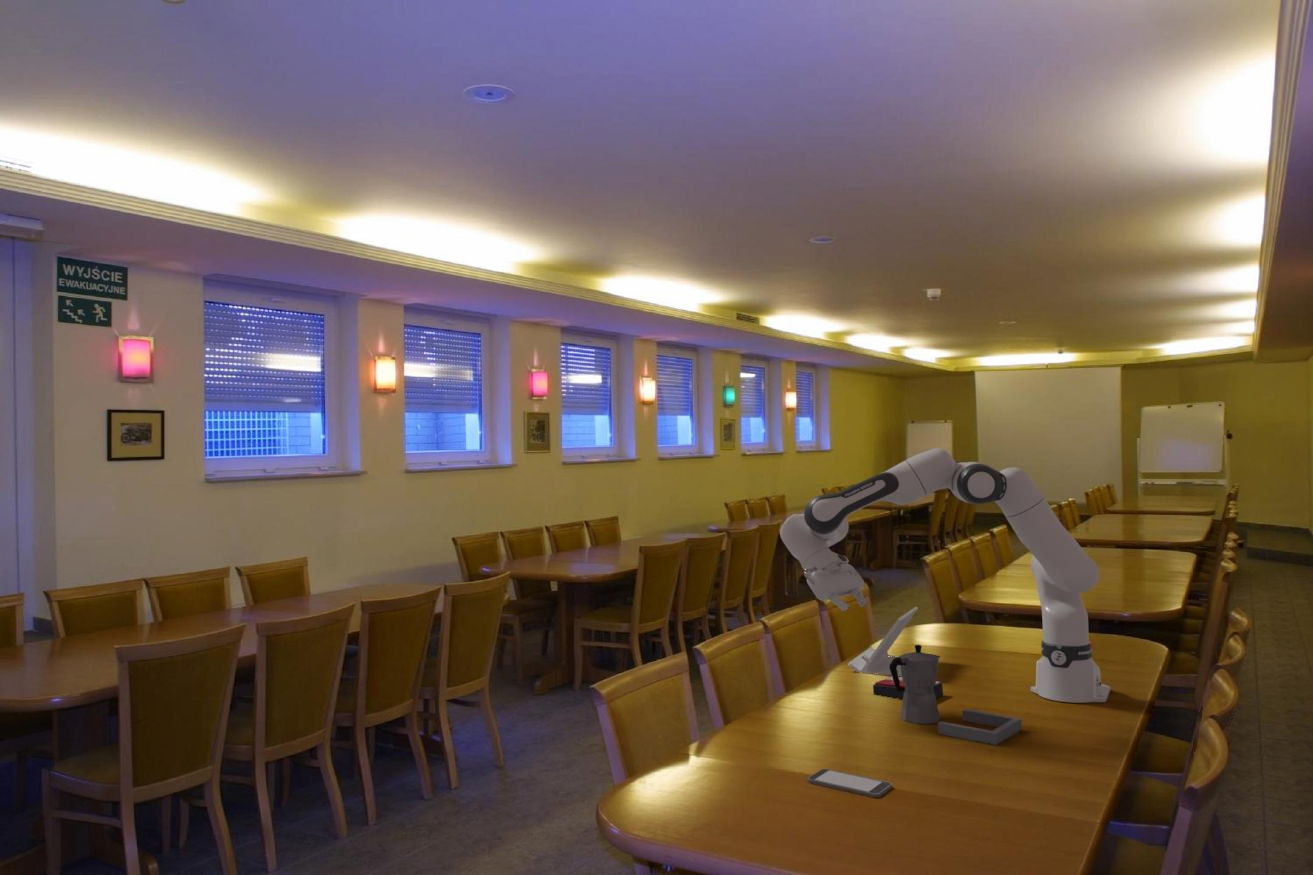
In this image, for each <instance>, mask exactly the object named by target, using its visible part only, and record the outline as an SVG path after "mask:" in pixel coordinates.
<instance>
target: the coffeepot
mask: <svg viewBox="0 0 1313 875" xmlns="http://www.w3.org/2000/svg"><path fill="white" fill-rule="evenodd" d="M914 649H915V651H914V652H907V653H903V654H901V655H898V656H899V657H897V658H894V659H893V660H892V662H891V663H890V666H889V667H890V671H891V674H892V677H893V681H894V684H895V687H896V690H897V691H898V692H902V691H904V689H905V690H906V691H905V692H904V695H903V699H902V702H901V703H902V704H901V708H900V718H901V719H902V720H903V721H904V722H906V721H907V723H910V724H915V723H916V725H931V724H936V723H938V722H939V720H941V718H940V713H939V708H938V703H937V699H936V696H935V693H934V688H933V686H934V685H935V684H936V681H937V674H938V667H939V659H940V657H941V655H937V654H933V653H928V652H927V653H925V652H921V651H922V645H920V644H915V645H914ZM897 665H900V667H901V673H902V678H903V683H904V684H905V688H904V687H900V680H899V678H898V673H897V669H896V667H897Z"/></svg>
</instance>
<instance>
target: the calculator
mask: <svg viewBox="0 0 1313 875" xmlns="http://www.w3.org/2000/svg"><path fill="white" fill-rule="evenodd" d="M898 678H899V680H900V687H904V688H905V684H904V683H903V678H902V677H898ZM943 687H944V686H943V683H942V682H940V681H937V680H936V684H935V685H934V686H933V688H934V693H935V696H936V698H937V699H939V698H941V697H943V696H944V688H943ZM872 689H873V691H872V692H873V696H878V695H881V696H880V697H885V696H886V698H890V697H892V698H891V699H896V698H899V699H898V700H903V695H904V692H905V691H906V690H905V689H904V691H902V692H898V691H897V690H896V687H895V684H894V681H893V677H892V676H888V677H887V678H884V679H881V680H879V681H876V682H875V683H874V684H873V685H872Z"/></svg>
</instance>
